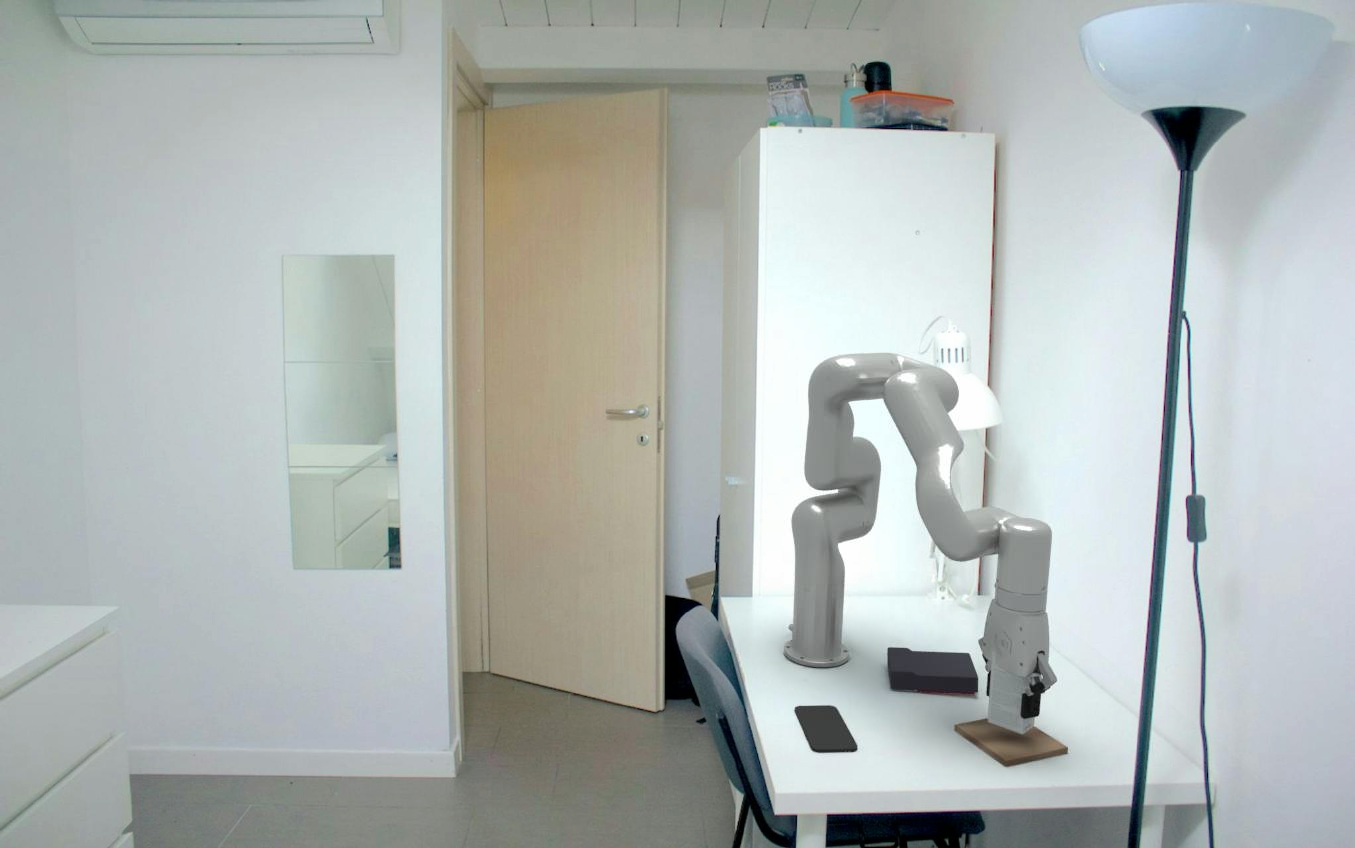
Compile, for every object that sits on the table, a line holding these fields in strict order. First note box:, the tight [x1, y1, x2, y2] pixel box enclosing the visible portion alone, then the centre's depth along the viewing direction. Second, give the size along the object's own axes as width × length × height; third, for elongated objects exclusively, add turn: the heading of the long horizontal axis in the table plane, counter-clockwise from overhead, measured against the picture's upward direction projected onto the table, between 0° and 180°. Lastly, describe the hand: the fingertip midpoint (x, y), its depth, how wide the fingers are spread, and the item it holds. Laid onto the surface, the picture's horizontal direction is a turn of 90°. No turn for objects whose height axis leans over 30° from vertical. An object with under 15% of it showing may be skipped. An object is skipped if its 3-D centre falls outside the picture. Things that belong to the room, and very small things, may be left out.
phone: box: [794, 704, 858, 754], centre depth 147 cm, size 7×1×15 cm
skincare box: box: [987, 651, 1036, 734], centre depth 142 cm, size 6×4×12 cm
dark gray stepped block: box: [886, 646, 979, 696], centre depth 165 cm, size 11×4×15 cm
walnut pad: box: [953, 717, 1069, 768], centre depth 143 cm, size 12×12×1 cm
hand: (1012, 705), depth 143 cm, fingers closed on skincare box, 7 cm apart
